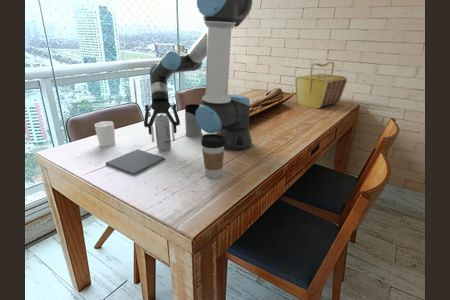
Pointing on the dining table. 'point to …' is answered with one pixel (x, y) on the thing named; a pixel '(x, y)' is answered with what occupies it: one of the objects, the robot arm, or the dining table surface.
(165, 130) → the energy drink can
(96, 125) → the white cup
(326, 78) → the picnic basket
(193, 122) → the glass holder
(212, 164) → the coffee cup
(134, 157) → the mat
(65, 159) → the dining table surface
